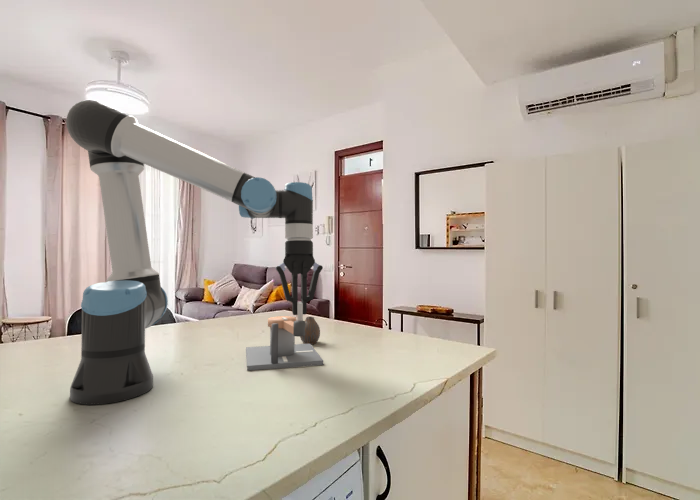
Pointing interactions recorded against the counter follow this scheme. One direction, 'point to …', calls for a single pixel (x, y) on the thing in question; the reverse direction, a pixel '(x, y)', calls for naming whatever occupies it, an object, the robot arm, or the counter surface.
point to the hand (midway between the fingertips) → (299, 326)
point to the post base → (293, 361)
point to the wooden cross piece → (289, 324)
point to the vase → (311, 331)
